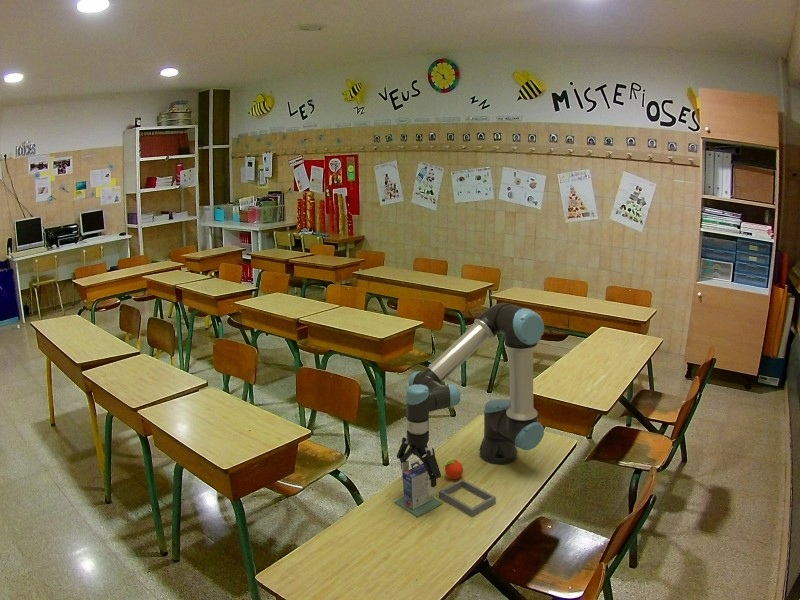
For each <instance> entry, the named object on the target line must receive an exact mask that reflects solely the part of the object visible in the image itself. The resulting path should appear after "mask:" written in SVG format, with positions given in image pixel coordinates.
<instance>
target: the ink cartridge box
mask: <svg viewBox="0 0 800 600" xmlns="http://www.w3.org/2000/svg"><path fill="white" fill-rule="evenodd" d="M415 465H416V466H415ZM410 467H411V468H409V470H408V471H406V472H403V480H402V487H403V488H402V491H403V493H402V494H403V497H404V504H405V505H406V506H408V507H409V508H411V509H412V510H413V509H415V508H417V507H419V506H421V505H423V504H425V503H427V502H429V501H431V500H433V497H434V494H433V495H431V496H429V495H428V478H429V474H428V472H427V470H426V468H425V466H424V464H423V462H422V463H420V461H419V460H417V461H415V462H413V463H410Z"/></svg>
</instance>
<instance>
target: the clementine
mask: <svg viewBox="0 0 800 600" xmlns="http://www.w3.org/2000/svg"><path fill="white" fill-rule="evenodd" d="M442 470H444V472H445V475H446V476H447V478H449V479H452V480H457V479H459V478H460V477H461V476H462V475H463V473H464V466H463V464H462V462H460V461H458V459H450V460H448V461H447V463H445V464H444V466H443V469H442Z"/></svg>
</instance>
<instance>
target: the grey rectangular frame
mask: <svg viewBox="0 0 800 600" xmlns="http://www.w3.org/2000/svg"><path fill="white" fill-rule="evenodd" d="M462 488H463V489H465V490H467V491H469V492H471V493H472V494H473V495H476V496H478V497H479V498H481V499H483V500H484V501H482V502H480V503H478V504H476V505H475V506H473V507H472V506H469V505H468V504H466V503H464V502H462V501H461V500H460V499H457V498H455V497H454V496H452V495H451V494H453V493H455V492H456V491H458V490H460V489H462ZM438 498H440V499H441V500H443V501H444V502H446V503H448V504H449V505H452V506H453V507H454V508H457V509H458V510H459V511H461V512H463V513H464V514H466V515H469V516H470V517H471V518H473V517H474V516H477V515H478V514H479V513H482V512H483V511H485V510H487V509H489V508H490V507H492V506H494V505H495V504H496V501H497V497H496V496H494V495H493V494H491V493H489V492H487V491H486V490H484V489H482V488H480V487H478V486H476V485H475V484H472V483H470V482H469V481H467V480H465V479H463V478H462V479H460V480H458V481H456V482H454V483H452V484H450V485H448V486H446V487H444V488H443V489H442V488H441V489H440V490H438Z"/></svg>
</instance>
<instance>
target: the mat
mask: <svg viewBox="0 0 800 600" xmlns="http://www.w3.org/2000/svg"><path fill="white" fill-rule="evenodd" d="M394 504H395V505H397V506H398V507H401V508H402V509H404V510H405V511H407V512H408V513H409V514H411V515H412V516H414V517H415V518H419V517H421V516H423V515H426V514H427V513H429V512H431V511H432V510H434V509H436V508H438V507H440V506H443V504H444V502H442V501H441V500H439V499H437V498H436V497H434V496H433V500H431V501H429V502H427V503H425V504H423V505H421V506H419V507H417V508H415V509H413V510H412V509H411V508H409V507H408V506H406V505H405V504H404V496H402V497H400V498H399V499H396V500H394Z"/></svg>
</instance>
